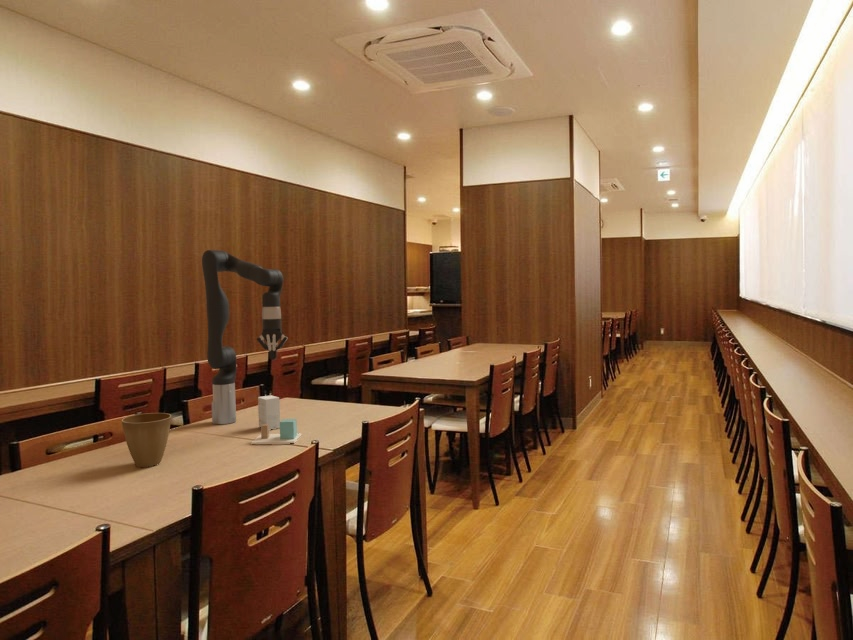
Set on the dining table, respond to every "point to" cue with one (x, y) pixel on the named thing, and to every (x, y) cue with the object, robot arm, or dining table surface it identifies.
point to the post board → (272, 437)
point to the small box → (269, 411)
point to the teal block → (288, 428)
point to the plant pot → (147, 437)
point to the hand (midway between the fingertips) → (273, 359)
